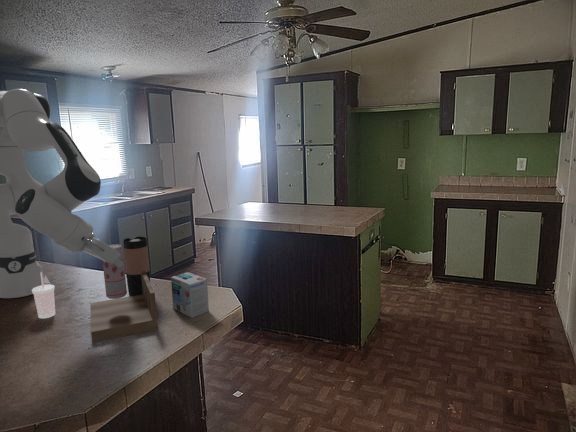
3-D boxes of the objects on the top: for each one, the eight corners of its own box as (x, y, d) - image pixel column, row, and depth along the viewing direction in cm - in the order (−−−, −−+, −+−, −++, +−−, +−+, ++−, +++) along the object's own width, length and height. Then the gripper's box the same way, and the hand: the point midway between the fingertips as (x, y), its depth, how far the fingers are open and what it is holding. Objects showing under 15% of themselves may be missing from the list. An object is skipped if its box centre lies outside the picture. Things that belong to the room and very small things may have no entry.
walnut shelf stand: (91, 312, 132) (87, 278, 130) (147, 302, 139) (144, 270, 137) (92, 342, 112) (87, 304, 110) (157, 329, 120) (154, 292, 117)
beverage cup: (30, 318, 129) (24, 274, 126) (48, 310, 134) (42, 268, 131) (45, 320, 126) (39, 276, 124) (62, 312, 132) (57, 270, 129)
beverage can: (106, 300, 120) (101, 250, 117) (106, 294, 125) (100, 245, 122) (127, 297, 122) (122, 247, 120) (126, 290, 127) (121, 243, 125)
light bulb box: (172, 308, 134) (169, 276, 131) (190, 302, 138) (188, 271, 136) (191, 318, 126) (189, 284, 124) (209, 311, 131) (208, 278, 129)
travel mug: (144, 299, 141) (139, 242, 137) (123, 298, 143) (118, 241, 139) (155, 291, 148) (151, 236, 145) (136, 290, 150) (131, 236, 146)
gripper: (99, 231, 108) (138, 259, 116) (70, 221, 122) (107, 247, 130) (83, 252, 105) (124, 279, 114) (56, 239, 119) (94, 264, 128)
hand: (115, 262), depth 122 cm, fingers closed on beverage can, 6 cm apart
